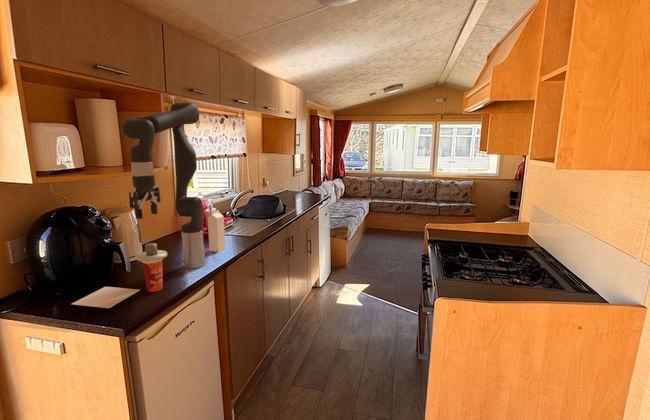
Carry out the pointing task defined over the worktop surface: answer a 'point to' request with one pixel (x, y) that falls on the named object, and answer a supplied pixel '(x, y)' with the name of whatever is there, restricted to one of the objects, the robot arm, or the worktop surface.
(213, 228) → the milk
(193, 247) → the robot arm
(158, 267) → the paper cup
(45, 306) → the worktop surface
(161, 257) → the lid
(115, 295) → the mat
